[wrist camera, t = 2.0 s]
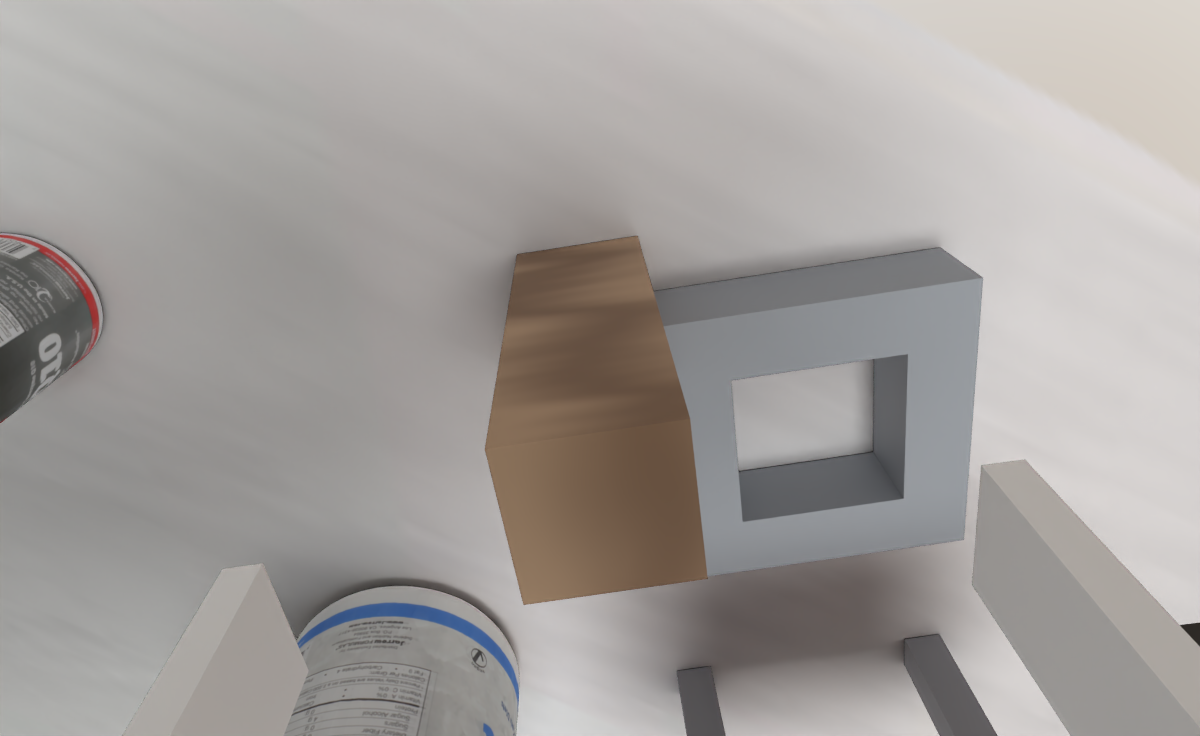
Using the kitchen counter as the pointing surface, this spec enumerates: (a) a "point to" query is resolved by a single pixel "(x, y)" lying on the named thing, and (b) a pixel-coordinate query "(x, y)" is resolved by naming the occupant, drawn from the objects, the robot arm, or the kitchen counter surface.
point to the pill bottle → (41, 318)
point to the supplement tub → (405, 668)
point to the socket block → (817, 339)
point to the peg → (592, 430)
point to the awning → (926, 663)
